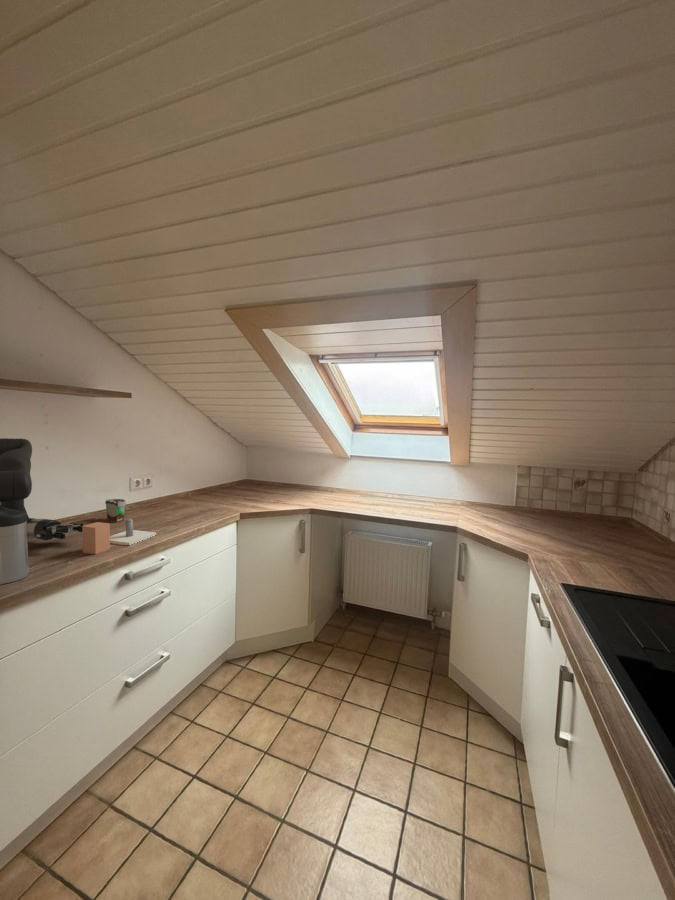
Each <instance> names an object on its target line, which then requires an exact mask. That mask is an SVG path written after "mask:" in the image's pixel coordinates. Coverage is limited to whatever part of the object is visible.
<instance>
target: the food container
mask: <svg viewBox="0 0 675 900" xmlns="http://www.w3.org/2000/svg"><path fill="white" fill-rule="evenodd" d="M104 503H105V508H106V509H105V510H106V512H105V513H106V520H107V521H109V520H110V522H112V521H114V522H113V523H116V522H119V523H122V522H123V521H124V519H125V508H126V505H127V502H126V500H125V499H123V498H122V499H121V498H113V499H112V498H111V499H105V502H104ZM121 521H122V522H121Z"/></svg>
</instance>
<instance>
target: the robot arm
mask: <svg viewBox="0 0 675 900" xmlns="http://www.w3.org/2000/svg"><path fill="white" fill-rule="evenodd" d="M32 455H33V446H32V443H31V441H30V440H29V439H25V438H7V437H6V438H2V437H1V438H0V586H1V585H4V584H8V583H13V582H17V581H19V580H22V579H24V578H26V577H27V576H28V575H29V549H28V548H29V547H28V544H29V543H28V537H31V538H35V539H37V540H42V541H50V540H55V539H59V540H64V539H66V535H67V534H68V535H69V534H73V533H77V532H78V533H82V526H84V523H82V522H81V523H79V522H69V523H67V524H65V523H64V524H62V523H61V522H60V521H59V520H56V519H49V518H48V519H47V518H33V517H32V518H31V517H29V515H28V512H27V510H26V507H25V500H26V499H27V498H29V496H30V495H31V493H32V490H33V489H32V488H33V483H32V476H31V469H32V462H31V458H32ZM69 529H70V531H69Z"/></svg>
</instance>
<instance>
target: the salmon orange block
mask: <svg viewBox="0 0 675 900" xmlns="http://www.w3.org/2000/svg"><path fill="white" fill-rule="evenodd" d="M110 526H111V525H110V522H109V523H108V522H99V521H97V522H93V523H89V524H86V525H83V526H82V532H81V533H82V553H83V554H89V555H98V554H101V553H104V552H106V551H109V550H111V543H110V536H111V527H110Z"/></svg>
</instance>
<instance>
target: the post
mask: <svg viewBox="0 0 675 900" xmlns="http://www.w3.org/2000/svg"><path fill="white" fill-rule="evenodd" d="M155 535H156V536H157V532H156V531H155V532H153V531H145V530H138V529H137V530H136V529H134V520H133V519H132V518H127V519H126V520H125V530H124V531H121V532H119V533H116V534H112V535H110V544H114V545H119V546H127V545H130V546H132V545H131V544H133V545H135V544H137V542H138V543H140V542H143V541H146V540H148V539H150V537H151V538H152V536H153V537H156V536H155ZM147 538H148V539H147ZM142 540H143V541H142ZM139 541H140V542H139ZM134 543H135V544H134Z"/></svg>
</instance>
